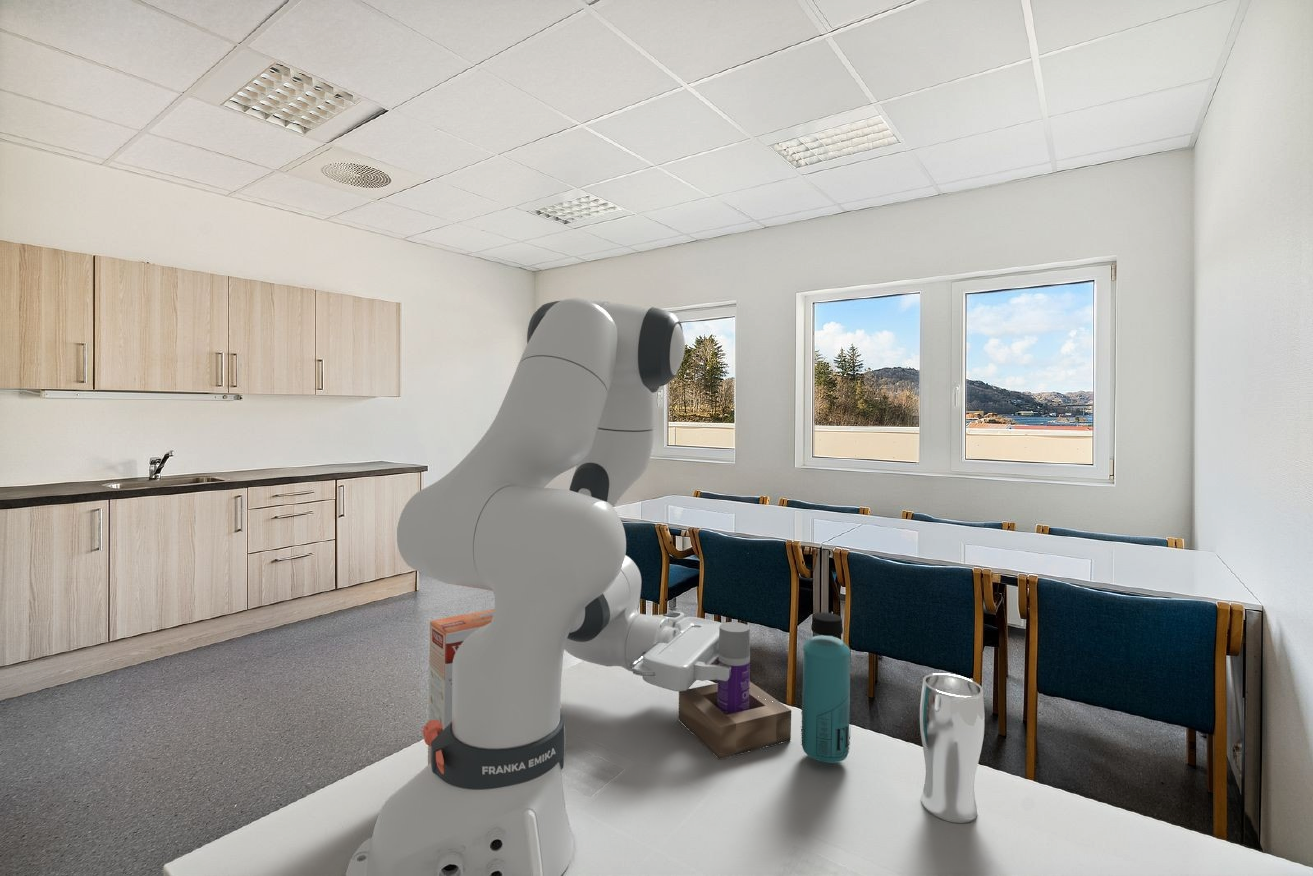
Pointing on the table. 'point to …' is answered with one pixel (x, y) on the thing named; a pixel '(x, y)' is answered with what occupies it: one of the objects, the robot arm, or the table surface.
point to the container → (734, 667)
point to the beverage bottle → (826, 691)
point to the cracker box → (448, 660)
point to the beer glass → (951, 744)
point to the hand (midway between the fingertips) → (739, 661)
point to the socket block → (734, 721)
